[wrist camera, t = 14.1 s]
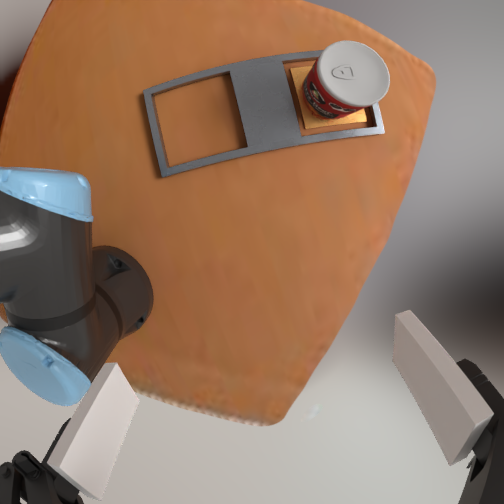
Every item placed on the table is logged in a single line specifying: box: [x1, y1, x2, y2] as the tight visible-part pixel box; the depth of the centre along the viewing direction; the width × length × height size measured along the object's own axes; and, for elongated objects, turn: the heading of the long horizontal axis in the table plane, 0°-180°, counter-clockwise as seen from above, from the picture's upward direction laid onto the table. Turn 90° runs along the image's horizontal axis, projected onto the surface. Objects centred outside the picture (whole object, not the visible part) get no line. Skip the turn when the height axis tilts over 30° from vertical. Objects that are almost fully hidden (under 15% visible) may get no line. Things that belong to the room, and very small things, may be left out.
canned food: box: [302, 41, 390, 119], centre depth 28 cm, size 8×8×11 cm
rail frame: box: [143, 50, 385, 177], centre depth 33 cm, size 31×13×1 cm, turn 103°
